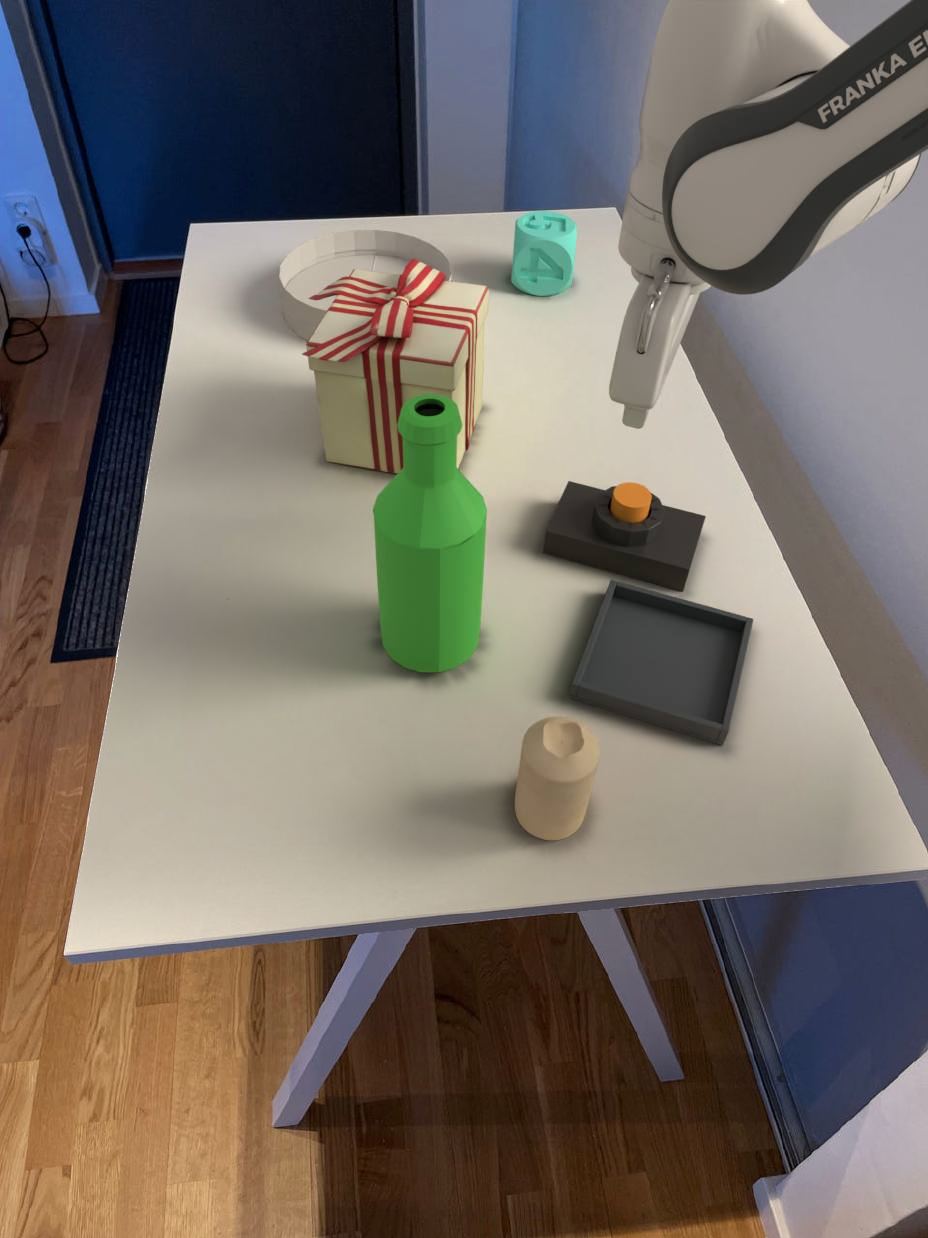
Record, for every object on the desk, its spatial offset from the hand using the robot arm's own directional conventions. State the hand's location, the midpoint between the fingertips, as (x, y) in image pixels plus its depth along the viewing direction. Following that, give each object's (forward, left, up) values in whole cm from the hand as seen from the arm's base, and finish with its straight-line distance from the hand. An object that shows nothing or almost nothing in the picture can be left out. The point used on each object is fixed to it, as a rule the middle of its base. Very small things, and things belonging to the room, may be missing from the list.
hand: (647, 391), depth 78 cm
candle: (-3, +31, -18) cm, 36 cm away
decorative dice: (+22, -47, -18) cm, 55 cm away
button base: (-1, 0, -18) cm, 18 cm away
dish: (+41, -32, -18) cm, 55 cm away
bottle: (+12, +18, -18) cm, 29 cm away
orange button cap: (-1, 0, -13) cm, 13 cm away
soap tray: (-8, +13, -18) cm, 24 cm away
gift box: (+27, -8, -18) cm, 34 cm away
